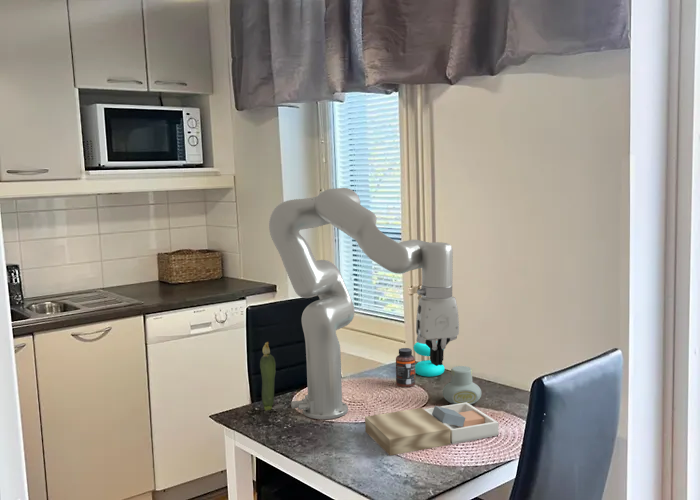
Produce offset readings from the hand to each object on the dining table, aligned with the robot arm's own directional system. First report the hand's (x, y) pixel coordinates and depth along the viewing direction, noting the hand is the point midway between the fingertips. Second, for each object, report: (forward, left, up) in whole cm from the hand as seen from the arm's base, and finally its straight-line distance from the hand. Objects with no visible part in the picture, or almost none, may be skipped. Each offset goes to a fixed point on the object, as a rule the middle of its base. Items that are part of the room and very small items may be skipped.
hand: (436, 363), depth 175 cm
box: (+6, 0, -18) cm, 19 cm away
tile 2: (+9, 0, -15) cm, 17 cm away
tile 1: (+3, 0, -15) cm, 15 cm away
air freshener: (+16, +17, -18) cm, 30 cm away
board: (-9, 0, -18) cm, 20 cm away
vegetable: (-36, +34, -18) cm, 52 cm away
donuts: (+20, +46, -18) cm, 53 cm away
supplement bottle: (+8, +38, -18) cm, 43 cm away
